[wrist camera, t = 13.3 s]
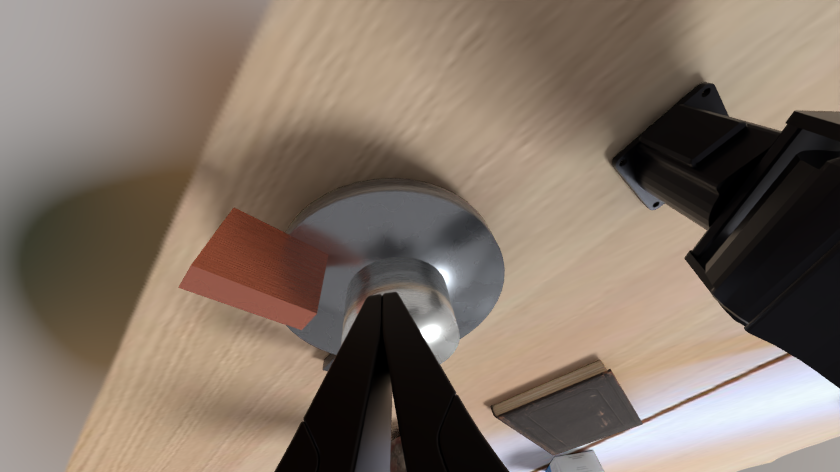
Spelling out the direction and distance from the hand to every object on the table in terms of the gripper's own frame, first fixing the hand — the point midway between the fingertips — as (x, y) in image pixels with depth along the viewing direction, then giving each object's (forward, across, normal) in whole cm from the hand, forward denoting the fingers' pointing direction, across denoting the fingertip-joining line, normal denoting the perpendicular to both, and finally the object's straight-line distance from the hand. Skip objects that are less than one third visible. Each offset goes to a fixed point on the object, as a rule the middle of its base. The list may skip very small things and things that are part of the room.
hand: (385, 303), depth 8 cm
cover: (+9, 0, +9) cm, 13 cm away
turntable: (+11, +1, +9) cm, 14 cm away
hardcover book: (+13, -22, +44) cm, 50 cm away
